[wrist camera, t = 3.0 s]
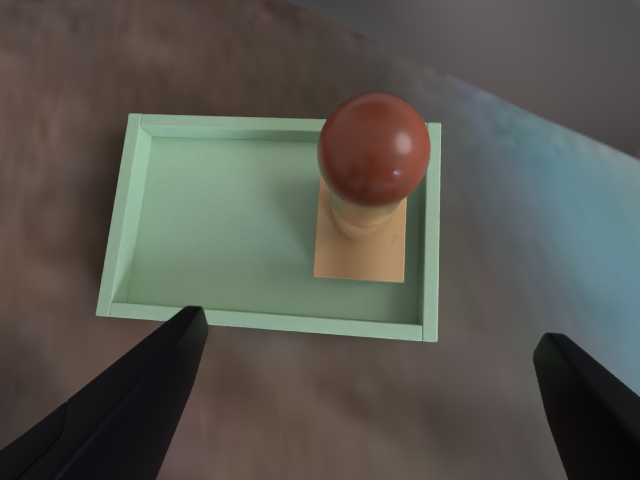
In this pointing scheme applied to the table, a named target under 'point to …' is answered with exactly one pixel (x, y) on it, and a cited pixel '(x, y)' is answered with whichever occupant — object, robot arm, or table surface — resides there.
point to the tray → (252, 232)
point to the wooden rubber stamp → (367, 187)
